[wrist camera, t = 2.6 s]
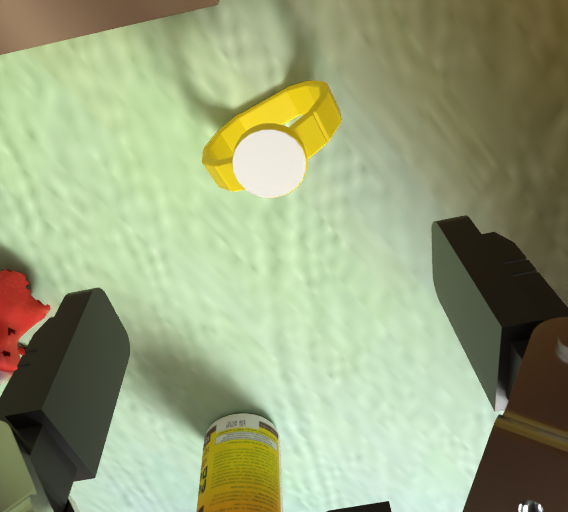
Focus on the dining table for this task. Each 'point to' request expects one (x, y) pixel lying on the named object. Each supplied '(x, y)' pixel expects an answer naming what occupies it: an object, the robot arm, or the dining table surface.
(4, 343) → the figurine
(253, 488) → the supplement bottle
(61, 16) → the walnut board
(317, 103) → the watch
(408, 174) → the dining table surface
